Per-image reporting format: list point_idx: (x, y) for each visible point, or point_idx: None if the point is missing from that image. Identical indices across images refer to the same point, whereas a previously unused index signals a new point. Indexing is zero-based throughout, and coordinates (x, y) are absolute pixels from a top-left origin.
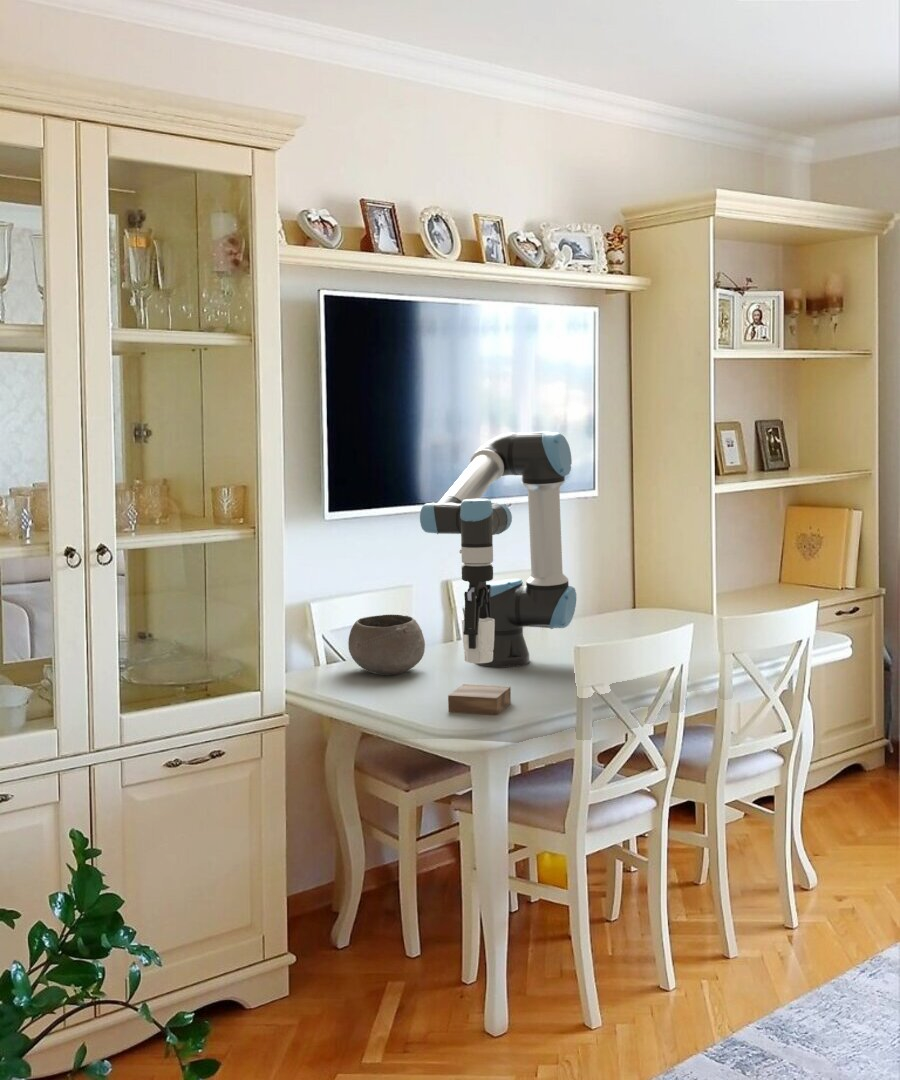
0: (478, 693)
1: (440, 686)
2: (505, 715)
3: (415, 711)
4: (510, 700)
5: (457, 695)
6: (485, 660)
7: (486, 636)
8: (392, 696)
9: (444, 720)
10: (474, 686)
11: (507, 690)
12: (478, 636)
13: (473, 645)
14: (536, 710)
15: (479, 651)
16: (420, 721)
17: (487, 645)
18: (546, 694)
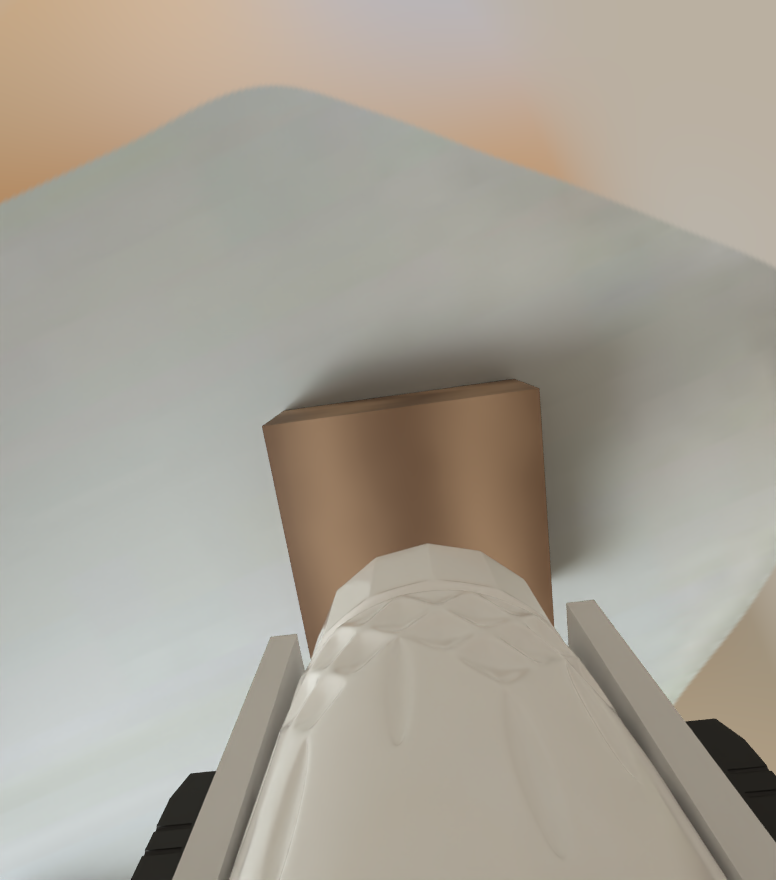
0: (467, 519)
1: (157, 776)
2: (508, 338)
3: None
4: (283, 412)
5: (542, 594)
6: (513, 576)
7: (629, 769)
8: None
9: (665, 545)
10: (333, 597)
11: (323, 416)
12: (774, 856)
13: (754, 765)
14: (367, 231)
15: (606, 667)
16: (703, 621)
17: (552, 654)
18: (52, 315)
